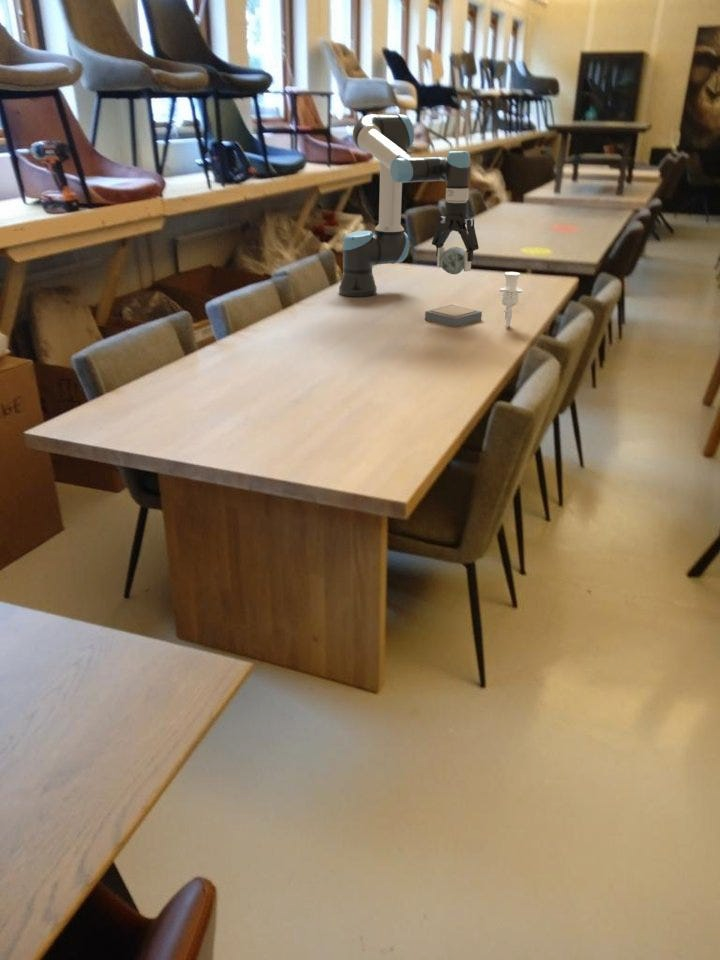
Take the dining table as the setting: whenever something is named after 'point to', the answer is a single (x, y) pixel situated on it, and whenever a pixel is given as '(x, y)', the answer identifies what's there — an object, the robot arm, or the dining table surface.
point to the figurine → (510, 294)
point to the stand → (453, 315)
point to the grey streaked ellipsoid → (453, 260)
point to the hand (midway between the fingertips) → (453, 268)
